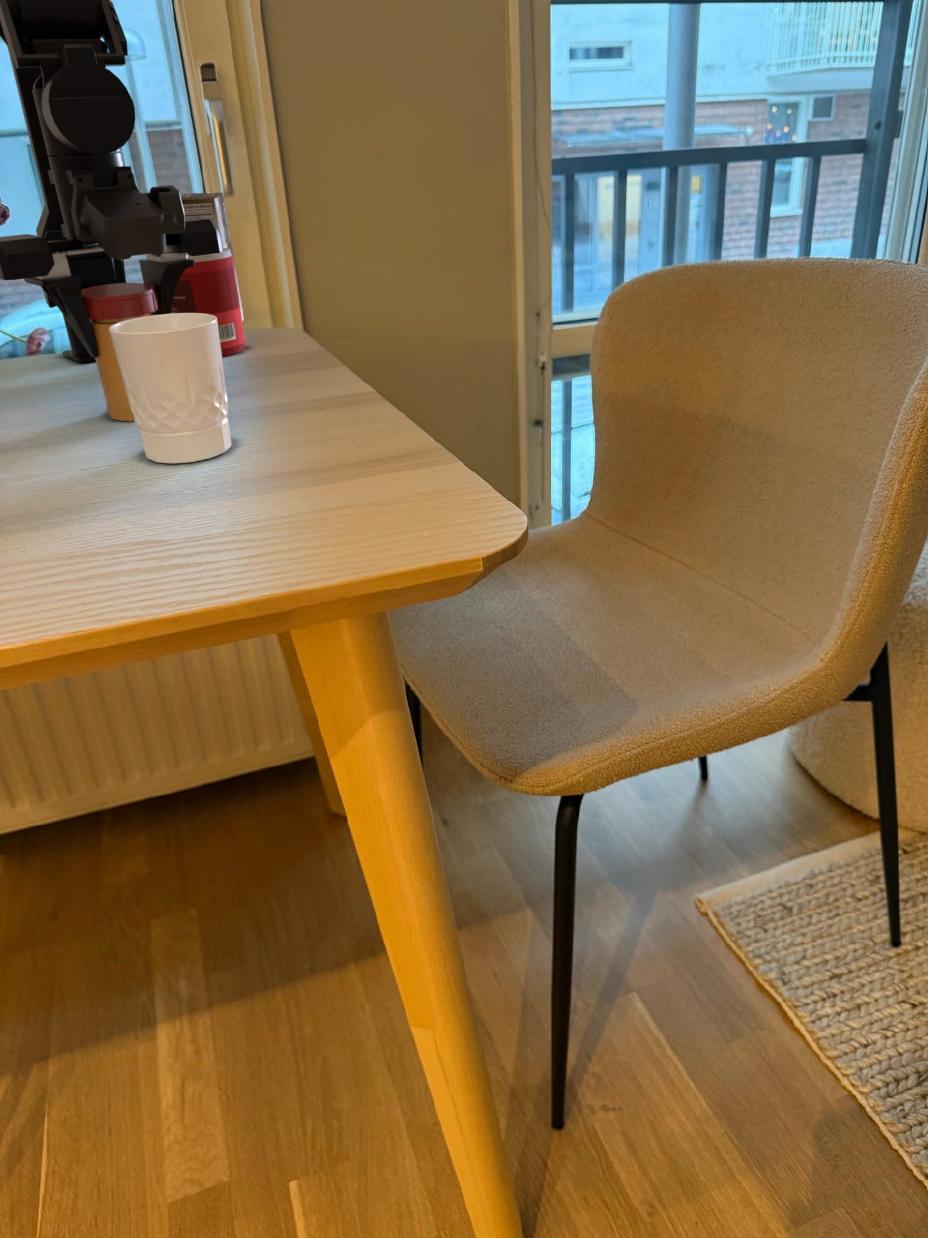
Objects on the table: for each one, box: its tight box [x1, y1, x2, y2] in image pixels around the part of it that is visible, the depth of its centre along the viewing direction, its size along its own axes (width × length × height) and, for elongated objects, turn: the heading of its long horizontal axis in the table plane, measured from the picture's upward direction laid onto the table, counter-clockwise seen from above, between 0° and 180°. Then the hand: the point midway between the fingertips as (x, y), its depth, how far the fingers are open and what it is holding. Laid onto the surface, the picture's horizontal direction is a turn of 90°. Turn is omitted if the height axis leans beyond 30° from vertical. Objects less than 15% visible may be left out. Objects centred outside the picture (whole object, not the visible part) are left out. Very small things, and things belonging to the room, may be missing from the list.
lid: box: [81, 282, 159, 320], centre depth 78 cm, size 6×6×2 cm
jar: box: [89, 312, 155, 422], centre depth 81 cm, size 6×6×10 cm
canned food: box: [171, 248, 246, 358], centre depth 103 cm, size 8×8×11 cm
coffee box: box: [180, 192, 245, 323], centre depth 115 cm, size 9×6×16 cm
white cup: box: [109, 313, 232, 464], centre depth 70 cm, size 8×8×10 cm
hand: (129, 350), depth 80 cm, fingers closed on lid, 6 cm apart
